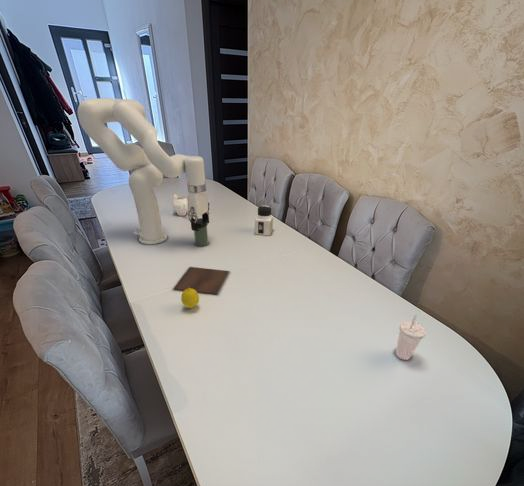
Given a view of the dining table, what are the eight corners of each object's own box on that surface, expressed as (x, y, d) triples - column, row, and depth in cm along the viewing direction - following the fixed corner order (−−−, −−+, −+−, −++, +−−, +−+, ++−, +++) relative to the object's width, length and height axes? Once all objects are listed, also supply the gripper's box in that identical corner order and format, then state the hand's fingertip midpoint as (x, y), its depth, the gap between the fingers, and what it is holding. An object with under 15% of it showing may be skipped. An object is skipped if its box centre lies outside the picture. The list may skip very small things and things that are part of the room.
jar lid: (190, 227, 135) (189, 222, 134) (195, 221, 141) (195, 217, 140) (204, 228, 134) (204, 224, 133) (209, 222, 140) (209, 218, 139)
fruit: (191, 315, 98) (189, 294, 93) (179, 309, 100) (176, 288, 96) (203, 306, 102) (201, 286, 97) (190, 301, 104) (188, 281, 100)
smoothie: (386, 347, 88) (399, 308, 80) (408, 346, 88) (423, 307, 81) (396, 364, 82) (412, 323, 75) (419, 363, 83) (436, 323, 75)
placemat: (173, 289, 110) (173, 288, 109) (190, 268, 123) (189, 266, 123) (216, 294, 108) (216, 293, 107) (228, 272, 121) (228, 271, 121)
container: (269, 235, 152) (271, 210, 145) (254, 234, 153) (255, 208, 146) (272, 229, 158) (273, 205, 151) (258, 228, 160) (258, 203, 152)
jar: (193, 245, 140) (191, 223, 135) (197, 240, 145) (195, 219, 140) (205, 247, 140) (204, 225, 134) (210, 241, 145) (208, 220, 139)
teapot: (179, 221, 165) (176, 204, 160) (168, 210, 180) (166, 194, 175) (196, 218, 170) (194, 201, 164) (184, 207, 184) (182, 192, 179)
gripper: (199, 182, 136) (202, 219, 146) (177, 192, 123) (183, 232, 132) (214, 184, 134) (216, 221, 144) (194, 194, 121) (198, 235, 130)
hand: (200, 226), depth 138 cm, fingers open, 9 cm apart
